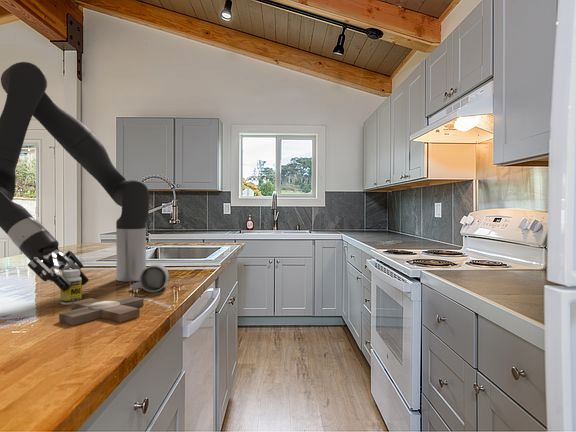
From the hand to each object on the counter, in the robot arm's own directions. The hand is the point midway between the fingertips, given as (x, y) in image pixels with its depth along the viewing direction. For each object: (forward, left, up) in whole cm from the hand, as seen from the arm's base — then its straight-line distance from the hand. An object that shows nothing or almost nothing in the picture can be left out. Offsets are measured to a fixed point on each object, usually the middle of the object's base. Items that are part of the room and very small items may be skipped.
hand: (77, 285), depth 96 cm
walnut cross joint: (+11, +8, -4) cm, 15 cm away
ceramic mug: (-12, +17, -5) cm, 21 cm away
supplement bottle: (-1, -2, -5) cm, 5 cm away
